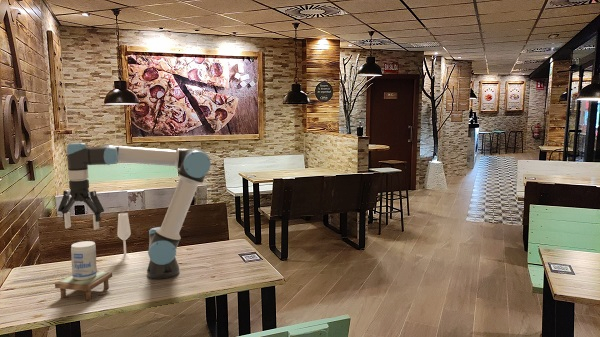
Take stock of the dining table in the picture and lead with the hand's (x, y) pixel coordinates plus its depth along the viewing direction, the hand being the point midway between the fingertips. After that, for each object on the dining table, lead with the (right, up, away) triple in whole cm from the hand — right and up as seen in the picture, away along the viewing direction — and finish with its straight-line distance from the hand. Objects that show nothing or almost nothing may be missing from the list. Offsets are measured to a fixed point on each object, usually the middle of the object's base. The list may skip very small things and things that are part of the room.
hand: (82, 228), depth 187 cm
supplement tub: (0, -22, +2) cm, 22 cm away
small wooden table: (0, -29, +3) cm, 29 cm away
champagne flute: (-1, -23, +50) cm, 55 cm away
